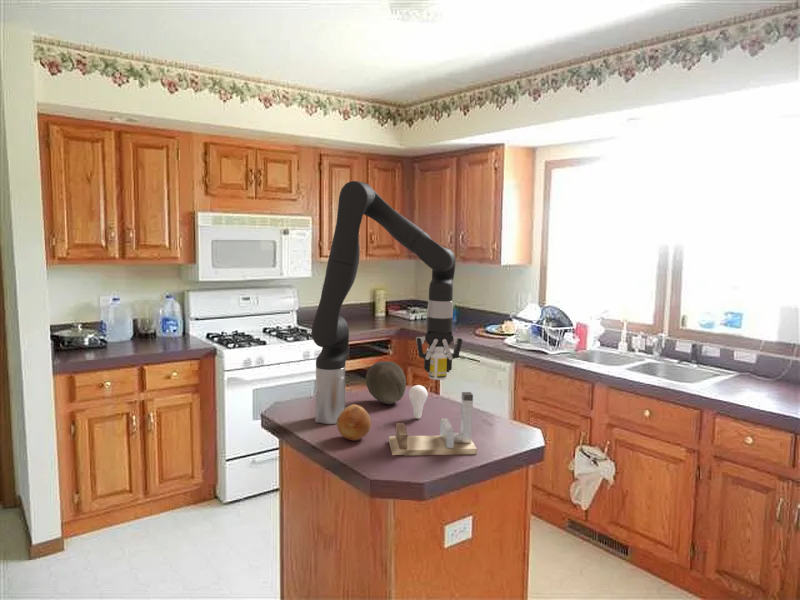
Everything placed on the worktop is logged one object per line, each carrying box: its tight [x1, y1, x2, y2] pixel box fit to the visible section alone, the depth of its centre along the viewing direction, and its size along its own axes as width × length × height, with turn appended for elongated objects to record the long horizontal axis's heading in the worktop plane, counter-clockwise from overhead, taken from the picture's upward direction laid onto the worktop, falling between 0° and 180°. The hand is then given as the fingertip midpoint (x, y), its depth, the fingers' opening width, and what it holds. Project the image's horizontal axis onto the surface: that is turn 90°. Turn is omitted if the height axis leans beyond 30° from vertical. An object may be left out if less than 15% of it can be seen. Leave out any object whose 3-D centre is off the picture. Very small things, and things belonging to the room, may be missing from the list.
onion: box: [336, 403, 372, 442], centre depth 166 cm, size 10×10×10 cm
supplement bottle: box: [428, 347, 448, 381], centre depth 172 cm, size 5×5×10 cm
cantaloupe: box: [365, 360, 407, 405], centre depth 203 cm, size 14×14×15 cm
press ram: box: [439, 391, 474, 448], centre depth 161 cm, size 8×10×14 cm
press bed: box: [388, 422, 478, 456], centre depth 161 cm, size 23×11×6 cm, turn 96°
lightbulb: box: [408, 384, 429, 420], centre depth 186 cm, size 6×6×11 cm
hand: (437, 371), depth 172 cm, fingers closed on supplement bottle, 5 cm apart
